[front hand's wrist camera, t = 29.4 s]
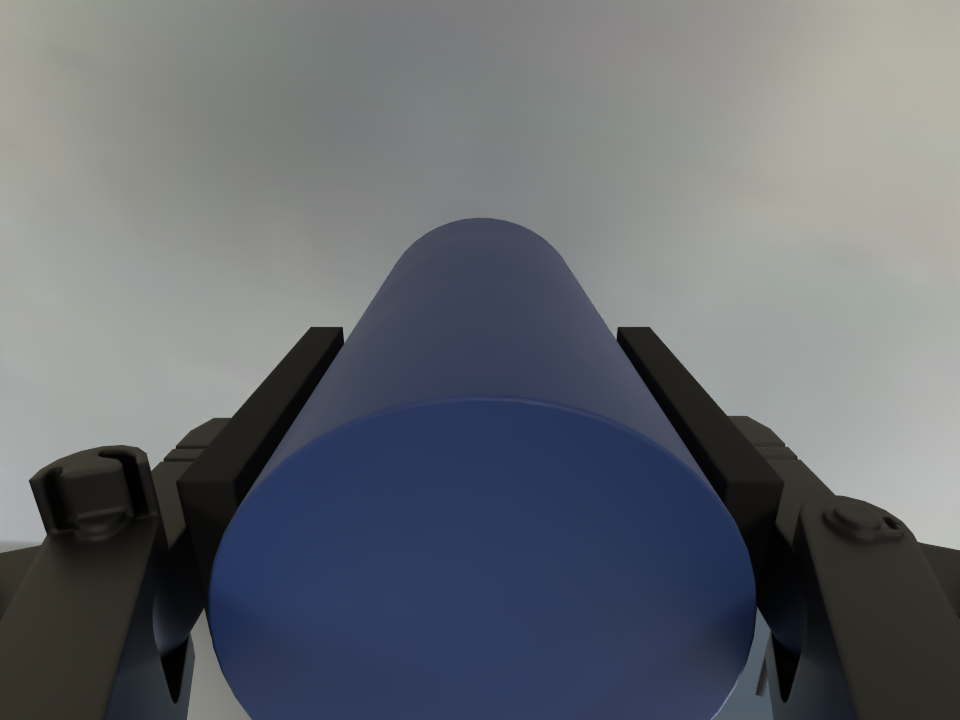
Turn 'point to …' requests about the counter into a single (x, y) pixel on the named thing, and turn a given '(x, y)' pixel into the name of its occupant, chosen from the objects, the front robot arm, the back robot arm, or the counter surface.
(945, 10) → the counter surface
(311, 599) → the can
